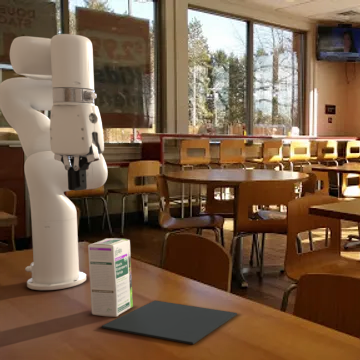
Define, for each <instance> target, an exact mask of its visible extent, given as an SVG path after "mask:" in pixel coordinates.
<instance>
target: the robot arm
mask: <svg viewBox="0 0 360 360" xmlns="http://www.w3.org/2000/svg"><path fill="white" fill-rule="evenodd" d="M9 61H10V65H11V67H12V69H13V71H14V73H16V75H20V76H24V77H20V76H19V77H11V78H7V79H5V80H3V81H1V83H0V111H1V113H2V115H3V117H4V119H5V121H6V122H7V123H8V125H9V126H10V127H11V128H12V129H13V130H14V132H16V134H17V137H18V140H19V143H20V145H21V148H22V150H23V153H24V155H25V157H26V160H25V162H24V166H23V168H24V176H25V180H26V186H27V190H28V195H29V196H28V197H29V203H30V217H31V236H32V237H31V239H32V255H33V257H32V258H33V260H32V262H31V263H30V264H29V265H28V266H25V269H24V271H25V272H26V273H31V277H30V278H29V279H27V281H26V287H27V288H28V289H31V290H35V291H55V290H62V289H63V290H64V289H68V288H72V287H76V286H79V285H81V284H83V283H84V282H86V281H87V274H86V273H85V272H83V271H80V261H79V259H80V258H79V236H78V212H77V207H76V206H75V204H74V202H73V201H71V200H70V199H69V197H67V196H66V195H65V192H70V191H83V190H95V189H99V188H101V187H102V186H104V185H105V184H106V182H107V179H108V173H109V172H108V171H109V170H108V165H107V162H106V160H105V157H104V155H103V153H104V151H105V142H104V140H105V139H104V131H103V130H104V129H103V122H102V118H101V113H100V109H99V106H97V105H95V100H96V99H97V93H96V92H95V76H94V75H95V74H94V50H93V43H92V41H91V39H90V38H88V37H86V36H84V35H79V34H74V33H73V34H71V33H58V34H55V35H53V36H52V37H51V38H48V37H41V36H40V37H38V36H31V35H30V36H28V35H24V36H23V35H22V36H18V37H15V38H14V39H13V40H12V42H11V44H10V48H9ZM40 111H50V117H48V116H47V115H46V114H45V113H42V112H40Z"/></svg>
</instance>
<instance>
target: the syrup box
mask: <svg viewBox="0 0 360 360" xmlns="http://www.w3.org/2000/svg"><path fill="white" fill-rule="evenodd" d="M87 251H88V253H87V254H88V270H89V284H90V285H89V289H90V309H91V315H94V316H102V317H111V318H112V317H113V318H114V317H117V318H118V317H119V315H121V314H123V313H125V312H126V311H128V310H130V309H131V308H133V307H134V303H133V302H134V301H133V280H132V279H133V278H132V257H131V256H132V255H131V240H130V239H127V238H118V237H114V238H112V237H111V238H104V239H102V240H99V241H97V242H96V241H95V242H94V243H90V244H89V243H88V245H87Z"/></svg>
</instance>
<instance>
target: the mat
mask: <svg viewBox="0 0 360 360" xmlns="http://www.w3.org/2000/svg"><path fill="white" fill-rule="evenodd" d="M237 315H238V313H237V312H232V311H228V310H227V311H226V310H220V309H214V308H206V307H201V306H200V307H199V306H193V305H187V304H180V303H173V302H167V301H161V300H152V301H151V302H149V303H147V304H145V305H143V306H140V307H138V308H136V309H134V310H132V311H130V312H128V313H126V314H124V315H122V316H118V317H117V318H115V319H113V320H111V321H109V322H107V323H105V324H102V325H101V328H102V329H106V330H110V331H111V330H112V331H117V332H121V333H122V332H123V333H128V334H133V335H139V336H144V337H150V338H155V339H161V340H165V341H171V342H177V343H182V344H187V345H188V344H189V345H194V344H196V343H198V342H199V341H200V340H202V339H204V338H205V337H206V336H208V335H209V334H211V333H212V332H214V331H215V330H217V329H218V328H220V327H221V326H223V325H224V324H226V323H227V322H228V321H230V320H232V319H233V318H234V317H236V316H237Z"/></svg>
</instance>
